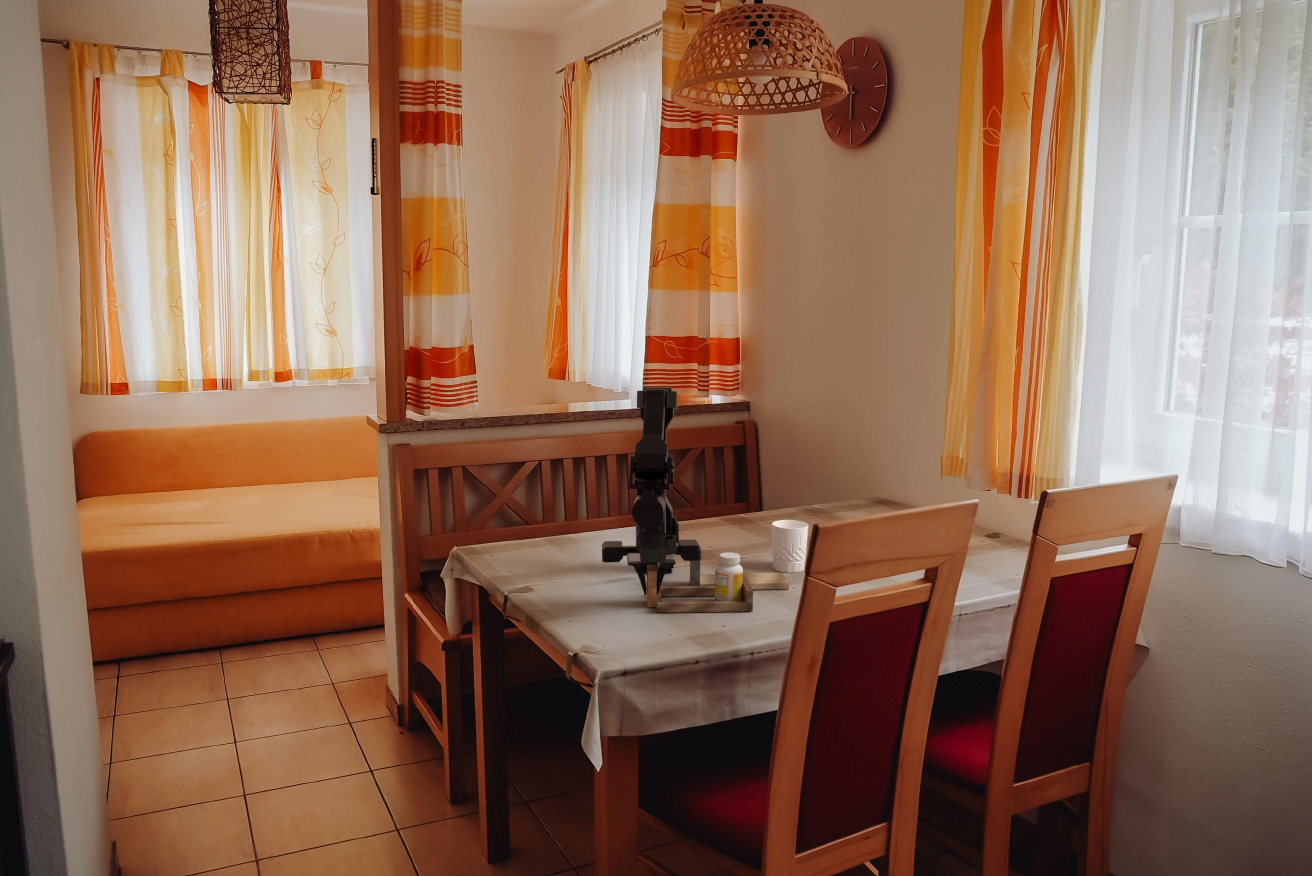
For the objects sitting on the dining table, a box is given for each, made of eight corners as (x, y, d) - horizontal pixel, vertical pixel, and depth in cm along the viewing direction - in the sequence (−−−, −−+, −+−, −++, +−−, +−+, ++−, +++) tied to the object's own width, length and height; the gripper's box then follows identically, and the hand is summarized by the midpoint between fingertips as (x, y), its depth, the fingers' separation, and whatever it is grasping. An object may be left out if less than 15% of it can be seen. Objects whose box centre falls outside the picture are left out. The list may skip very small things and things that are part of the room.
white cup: (805, 575, 209) (807, 529, 207) (768, 572, 210) (770, 527, 209) (807, 565, 216) (809, 520, 215) (772, 562, 218) (773, 518, 216)
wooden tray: (648, 612, 183) (649, 576, 182) (645, 594, 194) (646, 560, 193) (752, 611, 184) (753, 575, 183) (743, 593, 195) (744, 559, 194)
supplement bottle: (716, 607, 187) (716, 558, 185) (713, 598, 192) (713, 551, 191) (744, 607, 187) (745, 558, 186) (740, 598, 192) (741, 551, 191)
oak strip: (692, 589, 197) (693, 556, 196) (689, 579, 204) (689, 547, 203) (788, 588, 198) (789, 555, 197) (782, 578, 205) (783, 546, 204)
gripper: (602, 526, 177) (603, 608, 180) (704, 524, 179) (704, 606, 181) (601, 512, 188) (602, 590, 191) (697, 510, 190) (697, 588, 192)
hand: (650, 594), depth 188 cm, fingers closed
